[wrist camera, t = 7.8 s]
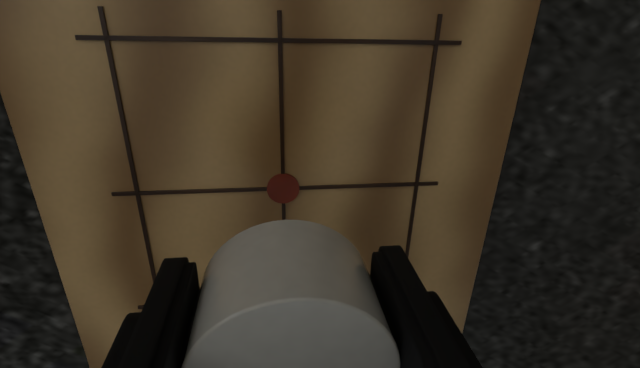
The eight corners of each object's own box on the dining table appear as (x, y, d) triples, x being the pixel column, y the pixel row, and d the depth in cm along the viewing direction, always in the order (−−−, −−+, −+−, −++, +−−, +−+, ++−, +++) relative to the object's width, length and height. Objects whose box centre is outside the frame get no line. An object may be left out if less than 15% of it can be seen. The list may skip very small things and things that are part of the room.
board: (538, -70, 15) (562, -77, 13) (452, 324, 23) (462, 341, 22) (-37, -100, 12) (-71, -112, 11) (100, 352, 20) (89, 373, 19)
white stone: (374, 214, 10) (414, 290, 7) (362, 344, 12) (390, 443, 9) (191, 222, 9) (161, 309, 7) (210, 357, 11) (192, 468, 8)
